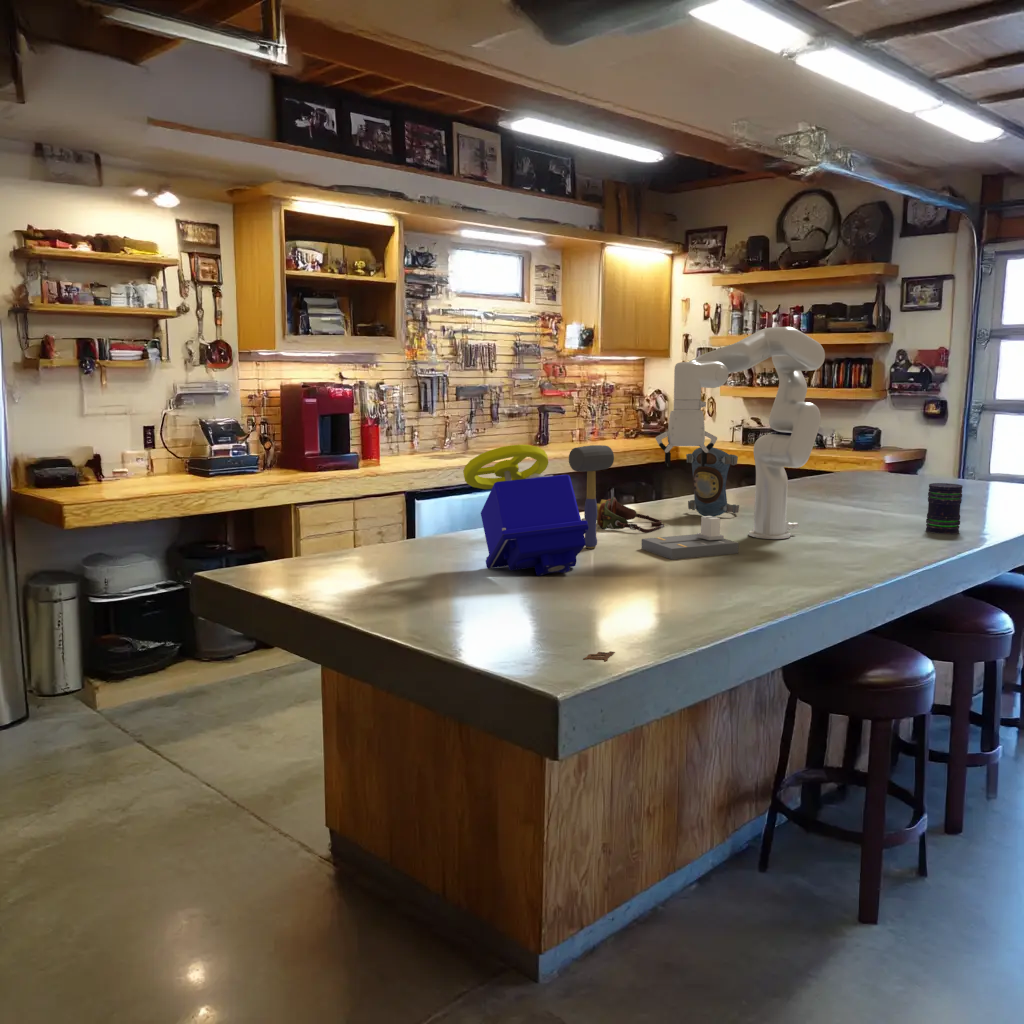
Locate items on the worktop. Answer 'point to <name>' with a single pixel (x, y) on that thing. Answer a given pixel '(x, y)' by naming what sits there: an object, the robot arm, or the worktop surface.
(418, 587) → the worktop surface
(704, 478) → the knee pad
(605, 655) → the brown piece
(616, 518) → the goggles
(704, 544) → the console
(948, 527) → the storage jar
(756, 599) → the worktop surface
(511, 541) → the blue valve actuator
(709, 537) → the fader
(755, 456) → the robot arm
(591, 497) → the rubber mallet
